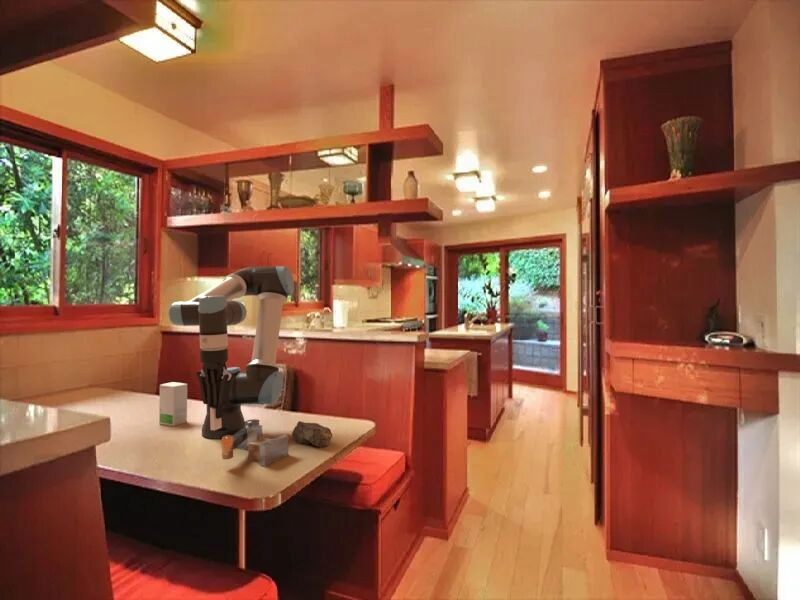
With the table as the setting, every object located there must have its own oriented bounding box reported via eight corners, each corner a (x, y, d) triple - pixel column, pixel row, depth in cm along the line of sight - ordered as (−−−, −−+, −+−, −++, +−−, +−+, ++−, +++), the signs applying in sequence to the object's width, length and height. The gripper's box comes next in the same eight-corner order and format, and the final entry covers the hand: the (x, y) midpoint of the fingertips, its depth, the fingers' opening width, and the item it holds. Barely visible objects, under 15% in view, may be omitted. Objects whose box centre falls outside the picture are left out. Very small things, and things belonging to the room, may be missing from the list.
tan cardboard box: (248, 459, 132) (248, 443, 132) (263, 453, 137) (263, 437, 137) (260, 462, 129) (260, 445, 129) (275, 455, 135) (275, 439, 135)
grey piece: (214, 455, 135) (214, 436, 135) (252, 439, 150) (252, 422, 149) (265, 466, 126) (264, 445, 126) (300, 448, 140) (300, 430, 140)
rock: (342, 428, 146) (322, 428, 138) (338, 449, 145) (317, 450, 137) (306, 419, 156) (285, 418, 148) (302, 438, 154) (281, 439, 146)
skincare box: (158, 424, 169) (158, 384, 169) (173, 419, 176) (172, 381, 175) (174, 426, 166) (173, 386, 166) (188, 421, 172) (187, 382, 172)
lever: (217, 459, 124) (217, 438, 124) (248, 434, 146) (248, 416, 146) (242, 459, 123) (242, 438, 123) (269, 434, 146) (269, 416, 146)
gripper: (187, 349, 125) (189, 429, 126) (219, 351, 119) (221, 436, 120) (209, 345, 132) (211, 422, 133) (240, 348, 126) (242, 427, 127)
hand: (216, 428), depth 126 cm, fingers closed
